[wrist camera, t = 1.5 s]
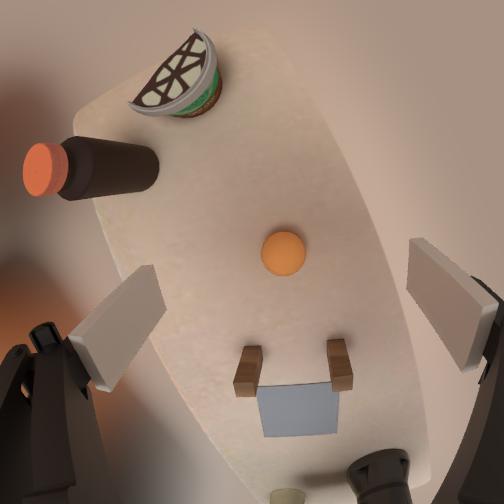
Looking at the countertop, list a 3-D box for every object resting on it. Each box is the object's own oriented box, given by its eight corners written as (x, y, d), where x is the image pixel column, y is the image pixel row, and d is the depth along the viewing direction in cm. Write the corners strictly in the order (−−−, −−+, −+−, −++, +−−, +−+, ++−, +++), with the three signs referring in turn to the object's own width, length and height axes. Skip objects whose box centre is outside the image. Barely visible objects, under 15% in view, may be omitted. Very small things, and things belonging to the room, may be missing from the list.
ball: (306, 266, 38) (308, 279, 33) (266, 270, 39) (262, 284, 34) (302, 226, 37) (304, 233, 32) (261, 230, 38) (255, 238, 33)
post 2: (343, 352, 41) (352, 389, 32) (327, 354, 41) (332, 392, 33) (343, 338, 40) (353, 374, 32) (326, 340, 41) (332, 377, 32)
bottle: (148, 137, 37) (48, 116, 18) (167, 176, 38) (68, 180, 19) (114, 162, 39) (11, 161, 19) (132, 200, 40) (30, 220, 20)
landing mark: (336, 432, 45) (336, 433, 45) (264, 436, 48) (264, 437, 47) (339, 380, 42) (339, 381, 42) (255, 386, 44) (255, 387, 44)
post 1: (263, 359, 43) (255, 396, 34) (246, 359, 43) (236, 396, 35) (261, 345, 42) (253, 382, 34) (244, 346, 43) (232, 382, 34)
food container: (189, 144, 37) (157, 135, 27) (160, 119, 36) (123, 105, 27) (250, 78, 33) (236, 48, 24) (218, 56, 33) (196, 24, 23)
